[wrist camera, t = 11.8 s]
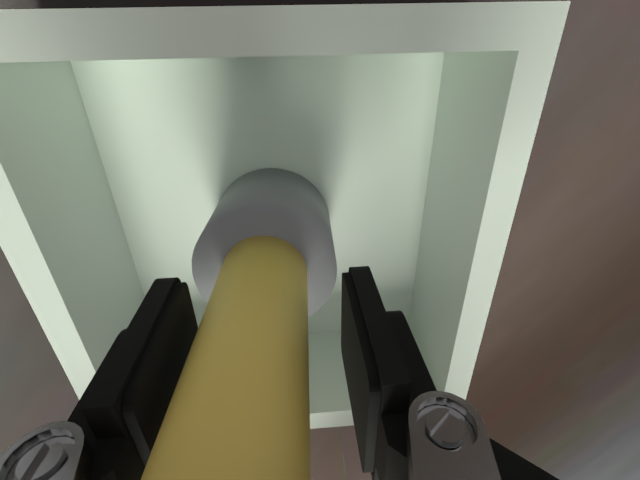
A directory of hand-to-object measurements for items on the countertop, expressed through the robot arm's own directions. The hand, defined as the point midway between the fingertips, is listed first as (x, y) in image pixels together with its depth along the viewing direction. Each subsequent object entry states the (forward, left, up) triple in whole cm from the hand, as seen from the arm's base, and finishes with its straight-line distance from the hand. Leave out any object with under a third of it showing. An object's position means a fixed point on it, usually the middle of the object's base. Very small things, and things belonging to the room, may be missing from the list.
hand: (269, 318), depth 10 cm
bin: (0, 0, -7) cm, 7 cm away
